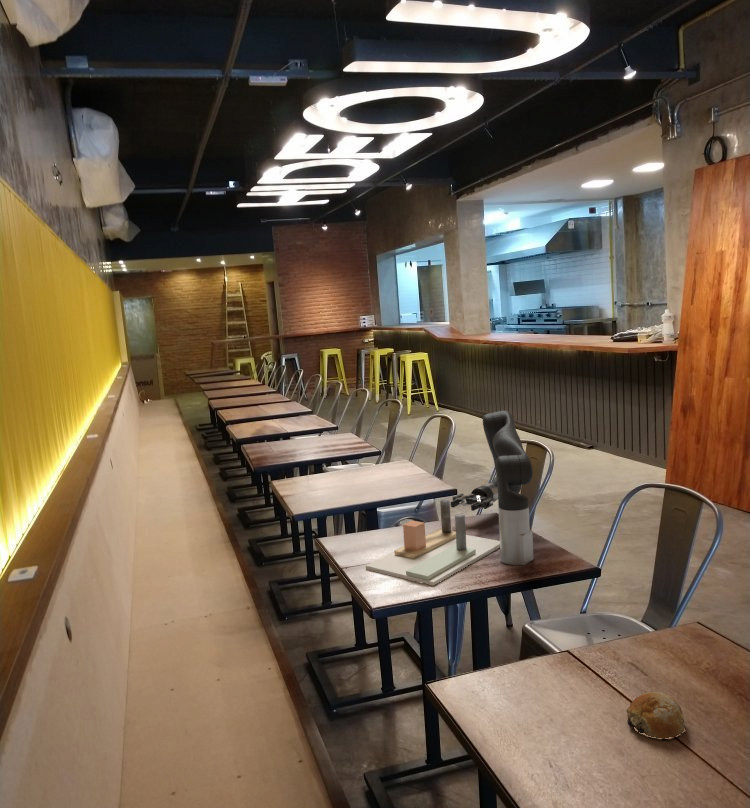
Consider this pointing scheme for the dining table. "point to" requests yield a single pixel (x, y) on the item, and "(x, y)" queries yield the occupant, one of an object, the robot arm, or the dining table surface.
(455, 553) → the sage strip
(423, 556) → the lane board
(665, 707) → the bread roll
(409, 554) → the oak strip
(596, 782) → the dining table surface
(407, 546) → the terracotta block
